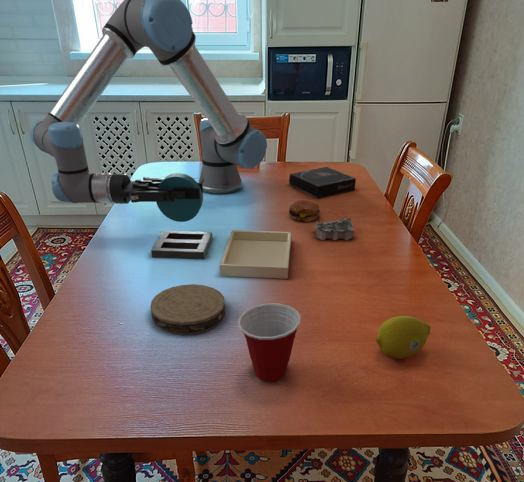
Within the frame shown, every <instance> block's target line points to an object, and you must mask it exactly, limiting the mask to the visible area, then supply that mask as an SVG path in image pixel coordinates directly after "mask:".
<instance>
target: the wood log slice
mask: <svg viewBox="0 0 524 482" xmlns="http://www.w3.org/2000/svg"><path fill="white" fill-rule="evenodd" d="M150 302H151V303H150V314H151V320H152V322H153V324H154V325H155V327H157V328H158V329H159V330H160V331H163V332H165V333H168V334H171V335H180V336H187V335H189V336H190V335H198V334H200V333H205V332H208V331H210V330H212V329H214V328H216V327H218V326H219V325H221V323H222V322H223V321H224V319H225V318H226V316H227V315H226V300H225V296H224V295H223V293H222V292H221V291H220V290H217V289H216V288H214V287H211V286H209V285H203V284H194V283H193V284H180V285H175V286H172V287H169V288H166V289H164V290H162V291H160V292H159V293H157V294H156V295H155V296H153V298H152V300H151V301H150Z"/></svg>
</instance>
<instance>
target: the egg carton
mask: <svg viewBox="0 0 524 482" xmlns="http://www.w3.org/2000/svg"><path fill="white" fill-rule="evenodd" d="M354 232H355V230H354V226H353V221H352V217H345V218H340V220H333V221H323V222H320V221H319V222H318V221H316V222H315V234H316V238H317V239H319V240H321V241H325V240H327V239H331V240H333V241H337V240H339V239H343V240H345V241H349V240H350V239H353V236H354Z"/></svg>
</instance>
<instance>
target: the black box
mask: <svg viewBox="0 0 524 482" xmlns="http://www.w3.org/2000/svg"><path fill="white" fill-rule="evenodd" d="M288 183H289V184H288V185H289V186H290V187H293V188H295V189H296V190H299V191H301V192H303V193H304V194H307V195H309V196H311V197H313V198H315V199H321V198H326V197H330V196H331V197H332V196H335V195H339V194H343V193H347V192H353V191H355V189H356V183H357V178H355V177H353V176H350V175H348V174H345V173H343V172H341V171H338V170H335V169H333V168H330V167H329V166H323V167H320V168H314V169H309V170H308V169H307V170H304V171H299V172H295V173H294V172H293V173H290V174H289V178H288Z"/></svg>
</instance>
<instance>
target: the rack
mask: <svg viewBox="0 0 524 482" xmlns="http://www.w3.org/2000/svg"><path fill="white" fill-rule="evenodd" d="M212 241H213V232H212V231H185V230H184V231H183V230H181V231H180V230H163V231H162V232H161V233H160V235H159V237H158V238H157V240H156V242H155V243H154V244H153V246H152V248H151V250H150V252H151V258H163V259H164V258H165V259H190V260H191V259H193V260H205V258H206V256H207V253H208V251H209V248H210V246H211V243H212Z"/></svg>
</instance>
